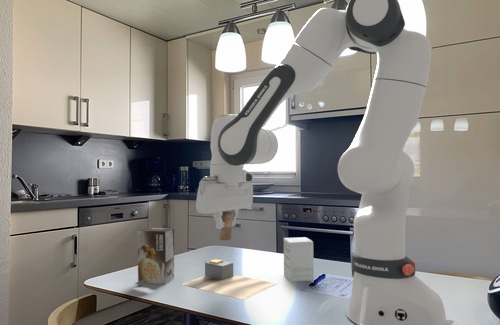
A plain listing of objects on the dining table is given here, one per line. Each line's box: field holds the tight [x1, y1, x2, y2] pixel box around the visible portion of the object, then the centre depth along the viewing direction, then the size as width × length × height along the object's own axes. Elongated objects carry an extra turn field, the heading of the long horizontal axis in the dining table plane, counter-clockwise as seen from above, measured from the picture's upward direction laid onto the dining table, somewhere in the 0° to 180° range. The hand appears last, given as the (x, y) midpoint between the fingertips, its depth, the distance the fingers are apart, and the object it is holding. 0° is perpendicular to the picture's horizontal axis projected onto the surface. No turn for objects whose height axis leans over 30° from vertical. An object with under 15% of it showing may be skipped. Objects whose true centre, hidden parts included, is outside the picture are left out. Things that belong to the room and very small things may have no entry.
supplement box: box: [283, 236, 315, 283], centre depth 112 cm, size 7×7×13 cm
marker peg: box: [218, 211, 233, 241], centre depth 100 cm, size 3×3×8 cm
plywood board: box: [180, 274, 277, 301], centre depth 105 cm, size 22×16×1 cm
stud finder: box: [204, 258, 234, 280], centre depth 113 cm, size 7×5×4 cm
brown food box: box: [137, 227, 175, 287], centre depth 110 cm, size 9×6×16 cm
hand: (225, 227), depth 100 cm, fingers closed on marker peg, 3 cm apart
